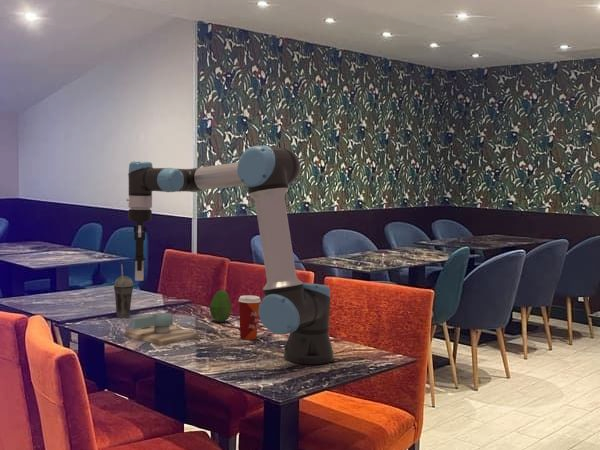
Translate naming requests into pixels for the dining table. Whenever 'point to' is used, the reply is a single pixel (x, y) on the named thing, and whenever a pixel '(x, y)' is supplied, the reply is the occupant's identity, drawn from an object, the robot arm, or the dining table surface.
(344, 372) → the dining table surface
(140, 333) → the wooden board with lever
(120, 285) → the beverage cup
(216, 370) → the dining table surface
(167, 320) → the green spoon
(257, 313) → the paper cup
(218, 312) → the avocado
